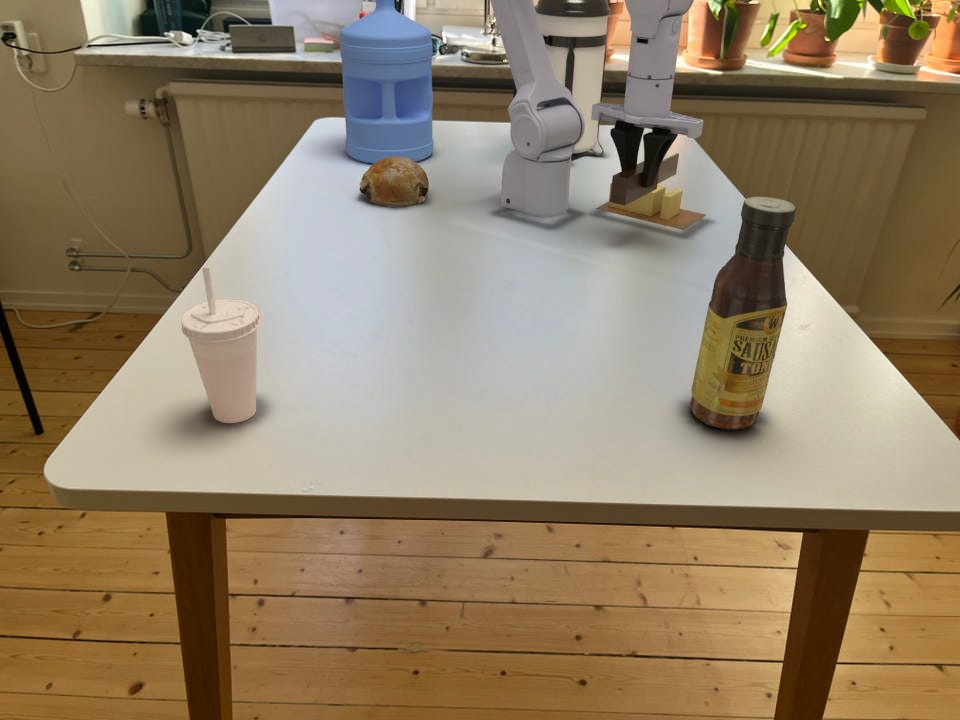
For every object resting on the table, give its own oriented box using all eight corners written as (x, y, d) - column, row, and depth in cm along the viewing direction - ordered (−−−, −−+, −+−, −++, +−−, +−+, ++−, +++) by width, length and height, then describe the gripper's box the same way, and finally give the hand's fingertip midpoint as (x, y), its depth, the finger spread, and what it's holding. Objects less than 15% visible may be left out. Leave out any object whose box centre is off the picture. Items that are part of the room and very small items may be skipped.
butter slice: (659, 218, 117) (663, 195, 115) (671, 211, 120) (675, 188, 118) (667, 220, 116) (670, 196, 115) (679, 213, 119) (682, 190, 118)
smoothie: (205, 393, 76) (181, 252, 69) (276, 391, 76) (259, 251, 69) (190, 433, 70) (162, 283, 63) (266, 430, 71) (246, 282, 64)
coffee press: (519, 141, 157) (527, -32, 142) (603, 145, 155) (620, -29, 140) (510, 166, 142) (517, -24, 127) (602, 171, 140) (621, -21, 125)
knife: (609, 202, 104) (612, 175, 103) (668, 172, 116) (671, 148, 115) (624, 205, 103) (628, 178, 102) (682, 175, 115) (686, 151, 113)
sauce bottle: (720, 441, 71) (764, 222, 61) (673, 406, 75) (707, 197, 66) (776, 422, 73) (826, 210, 64) (727, 389, 78) (767, 187, 68)
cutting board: (594, 214, 121) (595, 208, 120) (620, 201, 127) (621, 195, 126) (682, 236, 114) (683, 229, 113) (705, 221, 119) (706, 214, 119)
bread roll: (406, 232, 123) (428, 187, 119) (346, 198, 122) (365, 152, 118) (423, 211, 131) (444, 168, 127) (367, 179, 131) (386, 135, 127)
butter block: (608, 206, 121) (610, 183, 120) (620, 199, 124) (623, 177, 122) (650, 216, 118) (653, 193, 116) (663, 209, 121) (666, 186, 119)
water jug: (347, 142, 153) (337, -22, 140) (431, 142, 155) (429, -21, 141) (344, 166, 140) (333, -13, 126) (436, 165, 141) (435, -12, 128)
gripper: (583, 72, 101) (574, 179, 108) (692, 88, 94) (675, 202, 100) (610, 64, 106) (600, 167, 113) (716, 79, 99) (699, 189, 105)
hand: (637, 183), depth 107 cm, fingers closed on knife, 2 cm apart
